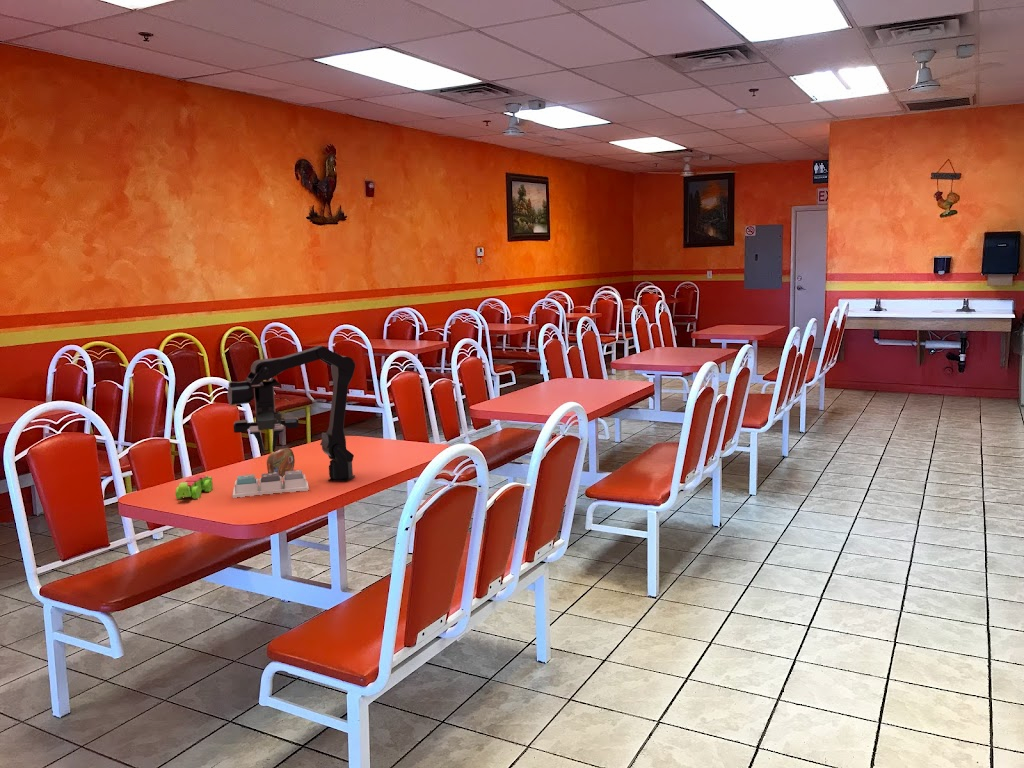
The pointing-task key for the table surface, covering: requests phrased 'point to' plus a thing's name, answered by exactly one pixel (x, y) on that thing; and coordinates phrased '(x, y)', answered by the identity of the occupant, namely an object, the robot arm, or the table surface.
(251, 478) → the key one dot
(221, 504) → the table surface
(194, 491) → the toy crocodile
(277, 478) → the key three dots
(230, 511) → the table surface
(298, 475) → the key two dots
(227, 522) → the table surface
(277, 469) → the brown flat rounded piece
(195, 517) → the table surface
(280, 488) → the keypad
